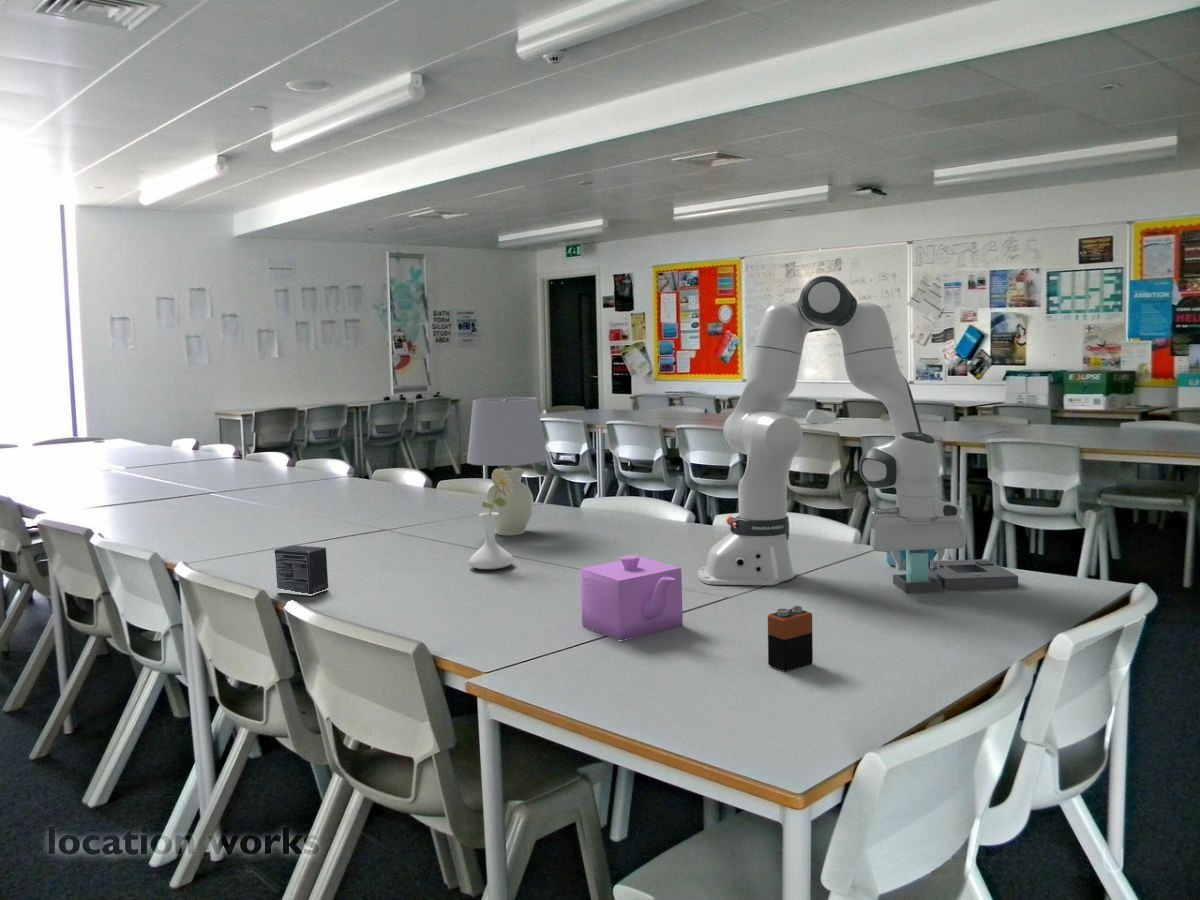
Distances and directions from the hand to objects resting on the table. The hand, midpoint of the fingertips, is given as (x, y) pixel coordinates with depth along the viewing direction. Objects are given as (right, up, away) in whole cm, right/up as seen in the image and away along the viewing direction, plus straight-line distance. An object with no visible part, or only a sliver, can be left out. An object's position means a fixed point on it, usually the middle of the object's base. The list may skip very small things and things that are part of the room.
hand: (917, 569), depth 208 cm
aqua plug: (0, -4, 0) cm, 4 cm away
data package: (+6, -2, +21) cm, 22 cm away
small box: (-139, -7, +14) cm, 140 cm away
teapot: (-63, -9, -22) cm, 67 cm away
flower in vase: (-97, -4, +33) cm, 102 cm away
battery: (-37, -11, -46) cm, 60 cm away
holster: (0, -4, 0) cm, 4 cm away
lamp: (-96, +1, +75) cm, 122 cm away
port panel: (+13, -3, +5) cm, 14 cm away
